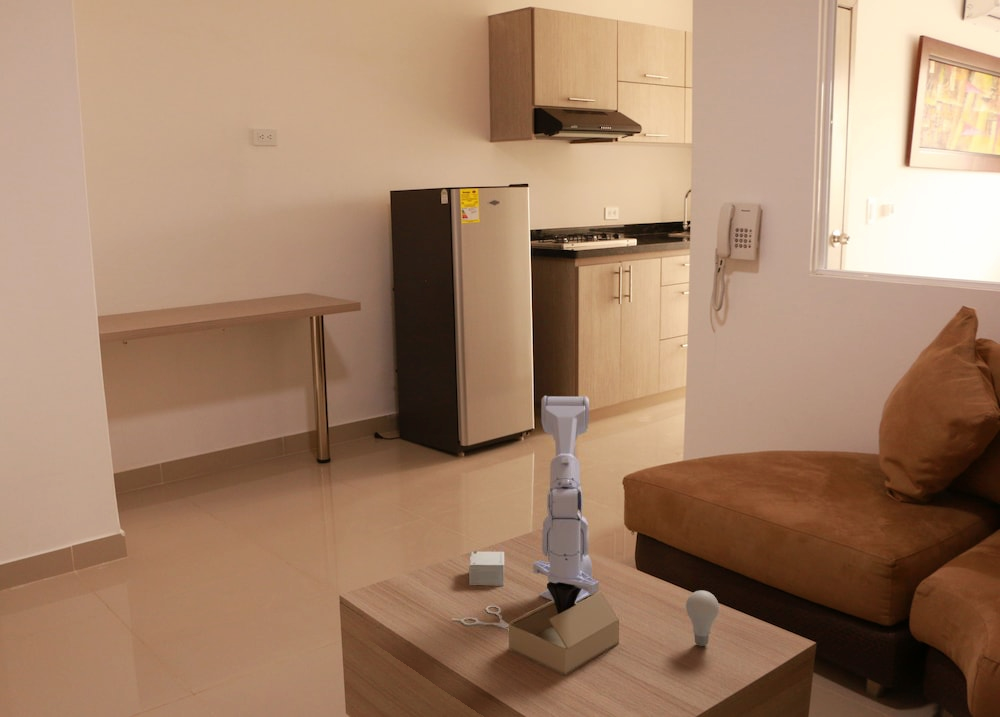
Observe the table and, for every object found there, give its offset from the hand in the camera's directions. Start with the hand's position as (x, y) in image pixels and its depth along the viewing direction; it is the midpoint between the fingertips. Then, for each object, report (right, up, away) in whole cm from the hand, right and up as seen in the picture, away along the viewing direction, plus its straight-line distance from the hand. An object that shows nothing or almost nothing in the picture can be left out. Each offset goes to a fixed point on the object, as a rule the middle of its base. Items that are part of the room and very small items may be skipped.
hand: (565, 617), depth 171 cm
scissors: (-12, -5, +10) cm, 16 cm away
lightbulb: (+26, -6, +1) cm, 27 cm away
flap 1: (-3, +1, +3) cm, 5 cm away
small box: (-15, -1, +32) cm, 36 cm away
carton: (0, -6, +1) cm, 6 cm away
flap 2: (+3, +1, -3) cm, 5 cm away
